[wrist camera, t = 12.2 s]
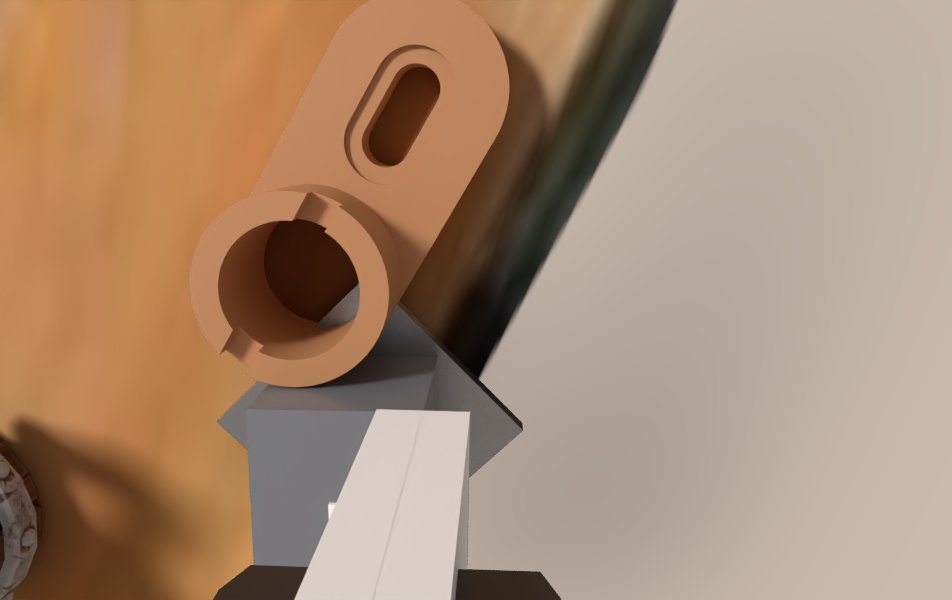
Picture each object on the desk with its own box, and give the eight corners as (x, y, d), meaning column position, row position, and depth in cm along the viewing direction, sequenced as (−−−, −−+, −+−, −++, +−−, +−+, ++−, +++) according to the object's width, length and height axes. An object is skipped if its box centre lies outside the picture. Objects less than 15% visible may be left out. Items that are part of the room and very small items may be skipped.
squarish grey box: (297, 354, 38) (244, 410, 30) (437, 356, 38) (422, 414, 30) (302, 485, 39) (252, 573, 31) (437, 487, 39) (423, 577, 31)
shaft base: (370, 271, 38) (348, 297, 32) (522, 423, 40) (526, 474, 34) (223, 414, 40) (176, 463, 34) (373, 553, 41) (353, 624, 35)
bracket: (357, 371, 40) (329, 420, 33) (214, 290, 39) (156, 324, 32) (541, 60, 36) (552, 43, 29) (388, -36, 35) (363, -76, 29)
